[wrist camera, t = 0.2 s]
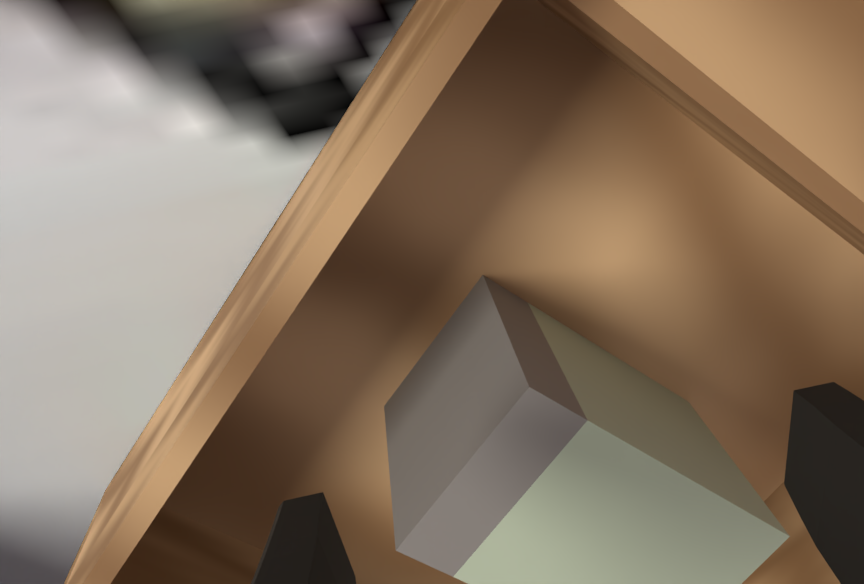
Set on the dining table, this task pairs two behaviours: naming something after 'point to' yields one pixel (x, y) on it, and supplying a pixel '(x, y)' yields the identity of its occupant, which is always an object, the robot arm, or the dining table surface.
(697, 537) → the capped block
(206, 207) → the dining table surface
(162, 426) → the wooden tray
